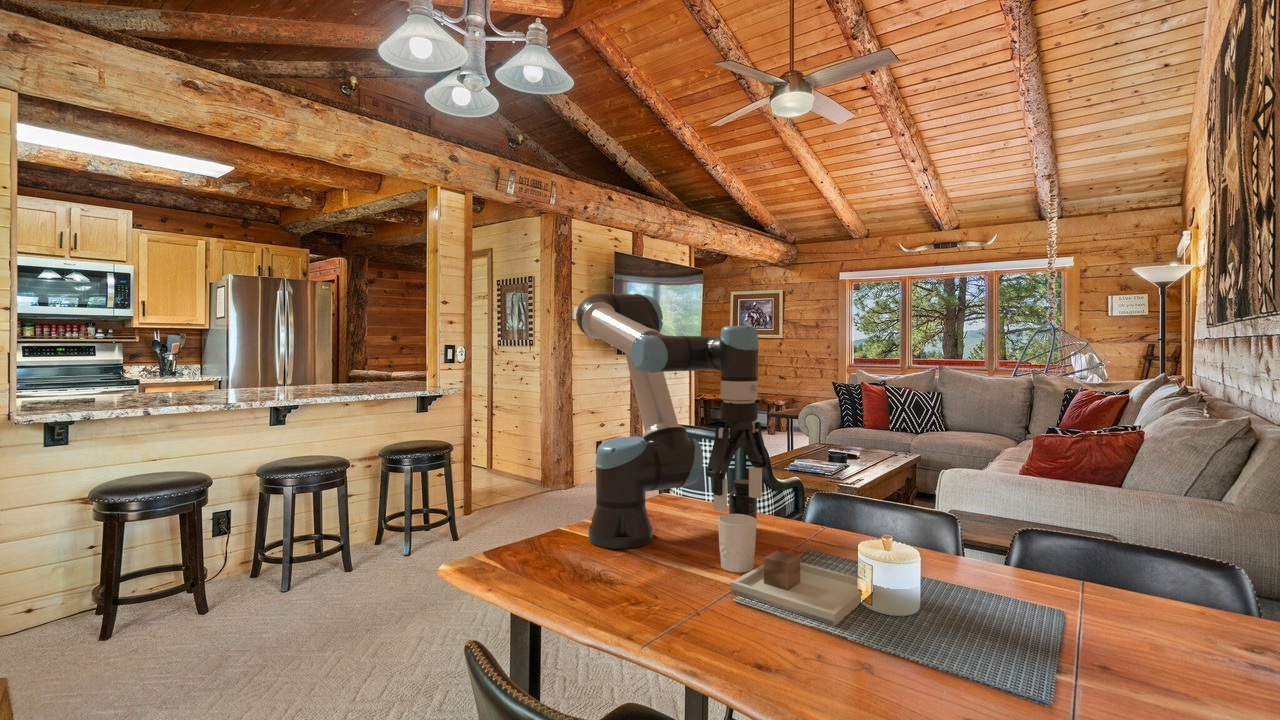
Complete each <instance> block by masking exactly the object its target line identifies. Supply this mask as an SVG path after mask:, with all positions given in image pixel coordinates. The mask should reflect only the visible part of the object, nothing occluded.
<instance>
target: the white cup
mask: <svg viewBox="0 0 1280 720" xmlns="http://www.w3.org/2000/svg"><path fill="white" fill-rule="evenodd" d="M717 519H718V521H717V522H718V546H719V554H720V555H719V557H720V558H719V559H720V567H721V568H722V569H723V570H725V571H727V572H731V573H736V574H737V573H748V572H750V571H752V570H753V569H755V568H754V565H755V553H756V543H757V541H756V540H757V529H756V527H757V526H758V519H757V520H756V518H754V517H752V516H749V515H744V514H729V513H728V514H727V513H726V514H722V515H720V516H719V517H718V518H717Z"/></svg>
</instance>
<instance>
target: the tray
mask: <svg viewBox="0 0 1280 720" xmlns="http://www.w3.org/2000/svg"><path fill="white" fill-rule="evenodd" d="M857 577H858V576H854V575H850V574H846V573H842V572H839V571H835V570H832V569H831V570H830V569H828V568H823V567H819V566H815V565H813V564H812V565H811V564H808V563H805V562H800V583H799V584H797V585H796V586H794V587H793V588H791V589H790V590H788V591H787V590H784V589H780V588H777V587H774V586H770V585H767V584H764V563H763V564H761V565H759V566H757V567H755V568H753V569H752V570H751V571H748V572H745V573H744V574H743V575H741V576H739V577H737V578H736V579H734V580H732V581H730V594H733V595H735V596H740V597H742V596H744V597H743V598H745V597H748V598H751V599H755V600H758V601H760V602H763V603H762V604H764V603H767V604H770V605H773V606H775V607H774V608H776V607H777V609H779V608H781V609H780V610H782V609H783V611H785V610H787V611H786V612H788V611H790V612H789V613H791V612H793V613H792V614H794V613H796V614H795V615H798V614H799V615H798V616H801V615H802V616H801V617H804V616H805V617H804V618H807V617H808V619H810V618H811V620H813V619H814V620H813V621H816V620H817V621H816V622H819V621H820V622H819V623H822V622H823V623H822V624H825V623H826V625H829V626H832V627H835V626H837V625H838V624H839V623H840V622H841V621H842V620H843V619H845V618H846V617H847V616H848V615H850V614H851V613H852V612H853V611H854V610H856V608H857V607H858V605H859V604H860V603H861V592H860V591H859V590H858V589H857ZM748 598H747V599H748ZM751 599H750V600H751ZM760 602H759V603H760ZM767 604H766V605H767ZM861 604H862V603H861ZM861 604H860V605H861ZM770 605H769V606H770ZM860 605H859V606H860ZM773 606H772V607H773ZM852 610H853V611H852ZM851 611H852V612H851ZM845 616H846V617H845ZM844 617H845V618H844Z"/></svg>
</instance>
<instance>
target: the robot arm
mask: <svg viewBox="0 0 1280 720" xmlns="http://www.w3.org/2000/svg"><path fill="white" fill-rule="evenodd" d="M663 315H664V314H663V312H662V307H661V306H660V304H659V302H658V301H657V300H656V298H654V297H653V296H650V295H647V294H645V295H644V294H641V293H633V294H628V293H610V292H609V293H608V292H598V293H595V294H591V295H589V296H588V297H585V298H584V300H582V302H581V303H579V305H578V307H577V310H576V313H575V319H576V320H575V321H576V325H577V327H578V329H579V331H581V333H583V334H584V335H585V336H587V337H589V338H590V339H594V340H601V341H603V342H605V343H607V344H608V345H611V346H612V347H615V348H616V349H618V350H619V351H621V352H623V353H624V354H625V358H626V364H627V367H628V371H629V374H630V378H631V382H632V386H633V390H634V391H633V392H634V395H635V399H636V403H637V406H638V410H639V413H640V414H639V415H640V418H641V423H642V426H643V429H644V434H643V435H642V436H636V435H635V436H620V437H615V438H610V439H608V440H605V441H603V442H601V444H599V445H598V447H597V449H596V458H595V464H594V465H595V495H596V496H595V499H596V500H595V501H596V502H595V509H594V511H593V515H592V519H591V523H590V525H589V527H588V541H589V542H590V543H591V544H592V545H595V546H597V547H599V548H600V547H602V548H606V549H614V550H615V549H616V550H620V549H621V550H624V549H626V550H627V549H635V548H639V547H644V546H646V545H648V544H650V543H651V542H652V541H653V539H654V530H653V525H651V521H650V517H649V513H648V510H647V507H646V505H647V504H646V493H647V492H653V491H661V490H668V489H681V488H682V487H686V486H691V485H693V484H694V483H696V482H697V481H698V480H699V478H700V476H701V474H702V469H703V467H704V466H703V465H704V453H703V449H702V446H701V444H700V442H699V441H698V440H697V439H696V438H693V437H689V436H688V432H687V429H686V427H685V426H683V425H681V424H679V423H678V420H677V419H678V418H677V415H676V412H675V407H674V405H673V402H672V396H671V395H670V391H669V388H668V383H667V379H666V375H665V372H666V373H667V372H668V373H669V372H694V371H695V372H699V371H700V372H701V371H706V372H707V371H713V372H714V371H716V372H717V371H718V372H720V399H721V400H722V402H721V403H720V419H721V420H722V421H724V422H725V427H718V426H717V427H716V428H715V432H714V433H715V435H714V441H713V445H712V448H711V449H712V450H711V451H710V456H709V460H708V464H707V468H706V471H705V476H707V477H708V478H712V493H713V511H717V512H720V513H727V512H728V478H726V475H727V472H728V470H729V467H730V465H731V462H732V460H733V458H734V456H735V453H736V452H737V451H738V450H739V449H740V448H742V449H743V451H744V453H745V455H746V456H747V458H748V461H749V462H750V465H751V466H749V467H748V480H749V497H752V498H757V500H760V499H763V496H762V495H763V468H765V469H766V468H767V466H768V462H769V457H768V454H767V449H766V446H765V442H764V437H763V435H762V427H761V426H762V425H761V422H760V421H757V420H758V414H759V413H758V412H759V410H758V409H759V404H758V403H757V402H755V401H757V399H758V390H759V385H758V380H759V378H758V376H759V374H758V373H759V349H760V345H759V334H758V330H757V327H755V326H752V325H734V326H733V325H728V326H727V325H726V326H723V327H721V331H720V335H717V336H716V335H664V334H662V333H661V331H662V329H663V324H664V322H663V321H662V320H663V319H664V317H663Z"/></svg>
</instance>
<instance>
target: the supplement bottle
mask: <svg viewBox="0 0 1280 720" xmlns="http://www.w3.org/2000/svg"><path fill="white" fill-rule="evenodd" d="M732 484H733V485H732V486H733V487H732V489H733V491H731V492H730V493H729V496H728V514H744V515H749V516H752V517H754V518H756V520H757V521H758V498H752V497H749V479H734V480H733V482H732ZM756 530H757V527H756Z"/></svg>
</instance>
